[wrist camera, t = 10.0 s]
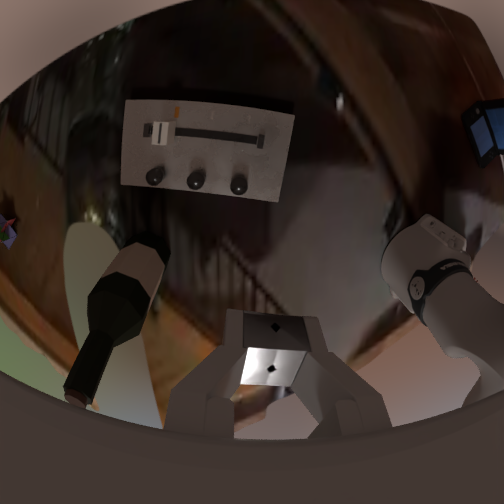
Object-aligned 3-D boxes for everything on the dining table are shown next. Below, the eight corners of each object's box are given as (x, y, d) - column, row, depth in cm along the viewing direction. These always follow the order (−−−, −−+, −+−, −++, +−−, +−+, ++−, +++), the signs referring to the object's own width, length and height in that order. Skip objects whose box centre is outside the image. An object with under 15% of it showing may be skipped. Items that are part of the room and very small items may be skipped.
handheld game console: (458, 115, 34) (484, 120, 28) (484, 93, 31) (509, 97, 24) (478, 169, 39) (502, 180, 32) (502, 145, 36) (525, 153, 29)
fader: (176, 121, 33) (168, 122, 30) (173, 142, 35) (166, 145, 31) (162, 120, 33) (153, 121, 30) (160, 141, 35) (151, 144, 31)
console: (292, 115, 36) (297, 115, 32) (276, 198, 42) (279, 206, 38) (131, 100, 33) (120, 99, 30) (125, 181, 39) (115, 188, 36)
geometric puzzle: (5, 201, 37) (-19, 229, 32) (23, 224, 39) (-2, 253, 35) (10, 211, 42) (-12, 237, 38) (26, 232, 45) (5, 258, 40)
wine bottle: (122, 231, 43) (26, 367, 17) (168, 230, 44) (92, 386, 17) (131, 272, 47) (62, 412, 21) (173, 273, 48) (124, 429, 21)
